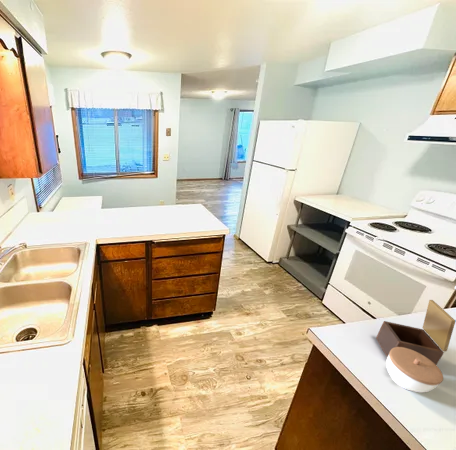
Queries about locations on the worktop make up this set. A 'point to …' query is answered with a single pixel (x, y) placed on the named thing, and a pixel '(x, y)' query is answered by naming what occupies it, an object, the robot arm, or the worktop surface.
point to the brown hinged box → (408, 340)
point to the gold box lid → (438, 325)
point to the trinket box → (413, 370)
